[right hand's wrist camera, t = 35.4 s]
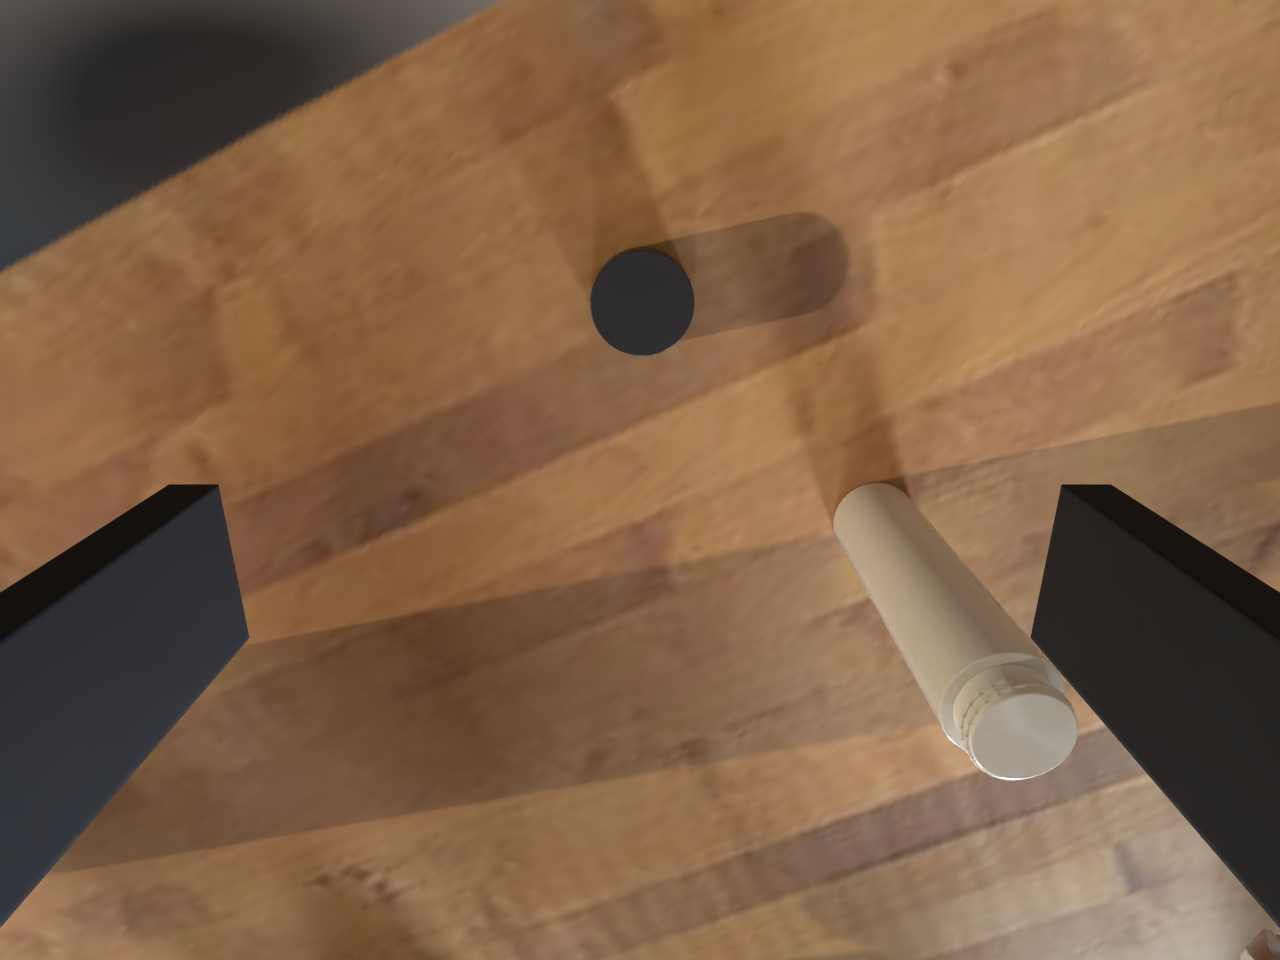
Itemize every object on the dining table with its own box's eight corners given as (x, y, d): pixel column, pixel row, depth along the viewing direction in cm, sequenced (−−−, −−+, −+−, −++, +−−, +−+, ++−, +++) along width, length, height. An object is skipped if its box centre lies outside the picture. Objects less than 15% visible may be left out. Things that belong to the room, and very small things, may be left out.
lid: (611, 360, 41) (610, 369, 39) (578, 266, 39) (575, 270, 37) (703, 330, 40) (706, 337, 38) (674, 233, 38) (676, 235, 37)
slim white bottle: (839, 480, 43) (973, 678, 26) (920, 484, 43) (1107, 685, 26) (827, 553, 45) (946, 787, 27) (906, 558, 45) (1073, 793, 27)
